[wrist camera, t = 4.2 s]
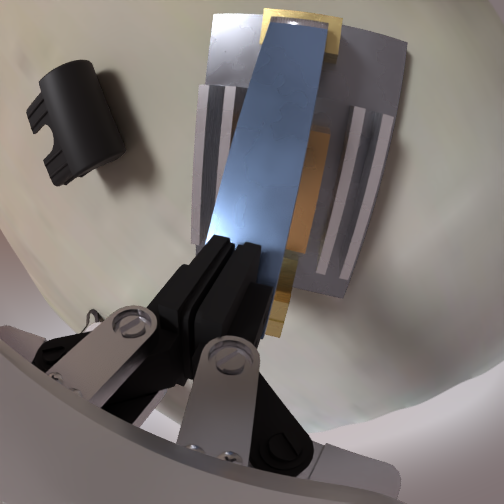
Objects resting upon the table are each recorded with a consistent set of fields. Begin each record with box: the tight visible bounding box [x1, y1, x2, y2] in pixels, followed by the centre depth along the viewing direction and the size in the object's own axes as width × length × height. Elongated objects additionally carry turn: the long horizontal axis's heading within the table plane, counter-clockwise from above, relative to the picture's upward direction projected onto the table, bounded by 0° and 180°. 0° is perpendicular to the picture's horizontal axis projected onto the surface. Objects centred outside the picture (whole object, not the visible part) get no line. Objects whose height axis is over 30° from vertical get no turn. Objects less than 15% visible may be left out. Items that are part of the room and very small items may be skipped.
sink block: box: [191, 8, 407, 338], centre depth 18 cm, size 22×14×9 cm, turn 173°
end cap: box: [26, 60, 126, 186], centre depth 21 cm, size 10×7×7 cm
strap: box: [205, 16, 329, 339], centre depth 12 cm, size 16×3×1 cm
